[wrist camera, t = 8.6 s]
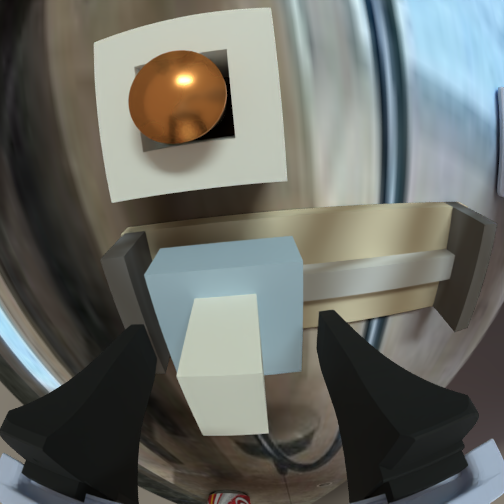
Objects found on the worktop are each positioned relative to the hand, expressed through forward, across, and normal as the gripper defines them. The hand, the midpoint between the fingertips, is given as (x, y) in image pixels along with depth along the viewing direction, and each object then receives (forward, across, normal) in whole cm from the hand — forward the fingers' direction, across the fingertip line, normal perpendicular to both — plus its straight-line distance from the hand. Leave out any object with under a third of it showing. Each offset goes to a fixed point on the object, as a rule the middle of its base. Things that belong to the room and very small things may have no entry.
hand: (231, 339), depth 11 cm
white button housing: (+5, 0, -9) cm, 10 cm away
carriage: (+3, 0, 0) cm, 3 cm away
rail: (+5, -4, 0) cm, 7 cm away
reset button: (+5, 0, -9) cm, 10 cm away
